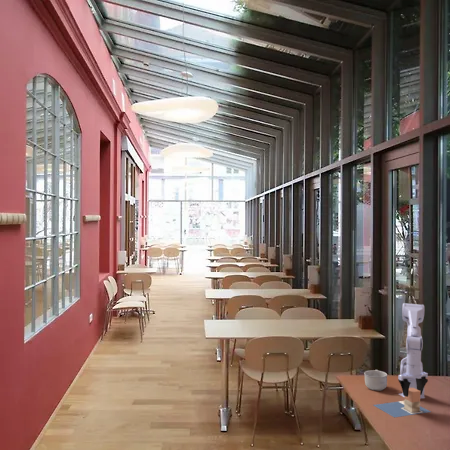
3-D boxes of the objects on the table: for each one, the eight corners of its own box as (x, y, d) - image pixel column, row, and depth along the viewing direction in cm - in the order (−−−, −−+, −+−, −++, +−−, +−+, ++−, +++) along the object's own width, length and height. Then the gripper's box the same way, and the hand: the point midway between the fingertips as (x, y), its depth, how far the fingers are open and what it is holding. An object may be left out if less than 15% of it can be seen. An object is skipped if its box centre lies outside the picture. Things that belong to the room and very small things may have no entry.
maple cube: (412, 407, 214) (412, 397, 214) (419, 411, 210) (420, 401, 210) (404, 408, 212) (404, 398, 212) (411, 412, 208) (411, 402, 208)
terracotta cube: (412, 397, 214) (413, 387, 214) (420, 401, 210) (420, 391, 210) (404, 398, 212) (405, 388, 212) (412, 402, 208) (412, 392, 208)
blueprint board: (408, 401, 223) (408, 399, 223) (431, 413, 210) (431, 411, 210) (372, 406, 216) (372, 404, 216) (394, 418, 203) (394, 416, 203)
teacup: (383, 394, 231) (384, 378, 231) (361, 389, 237) (361, 373, 236) (390, 386, 243) (391, 370, 243) (368, 382, 248) (369, 366, 248)
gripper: (407, 368, 204) (405, 400, 205) (433, 365, 210) (432, 396, 210) (395, 363, 211) (394, 394, 211) (421, 360, 216) (420, 390, 217)
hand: (412, 395), depth 211 cm, fingers open, 7 cm apart
